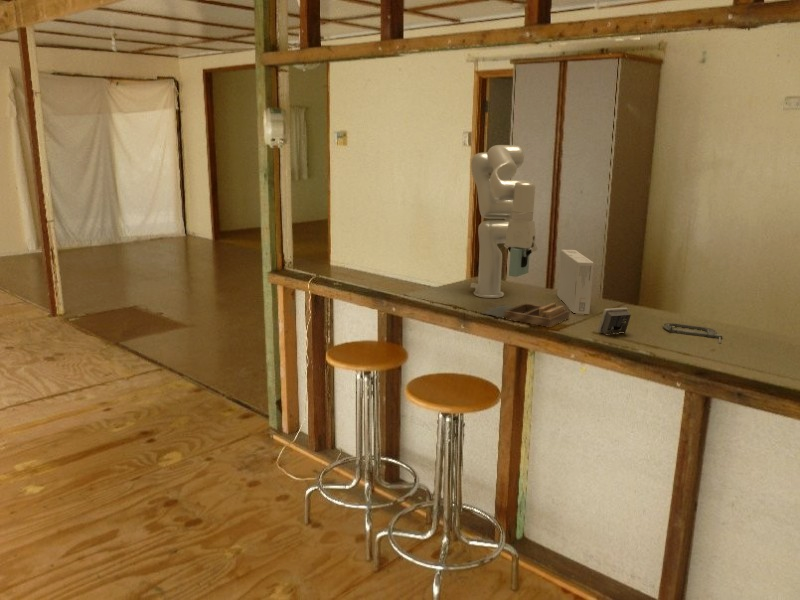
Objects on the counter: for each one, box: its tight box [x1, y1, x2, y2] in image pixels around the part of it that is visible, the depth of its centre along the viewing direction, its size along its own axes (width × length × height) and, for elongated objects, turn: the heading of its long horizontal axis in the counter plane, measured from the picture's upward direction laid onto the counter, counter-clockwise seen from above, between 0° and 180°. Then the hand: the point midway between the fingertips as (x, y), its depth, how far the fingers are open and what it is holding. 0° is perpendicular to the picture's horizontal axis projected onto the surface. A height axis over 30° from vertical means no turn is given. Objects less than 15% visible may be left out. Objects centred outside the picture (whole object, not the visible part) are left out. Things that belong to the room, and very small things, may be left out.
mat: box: [480, 304, 515, 318], centre depth 256 cm, size 9×16×1 cm, turn 143°
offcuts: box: [539, 302, 565, 318], centre depth 244 cm, size 5×12×6 cm, turn 143°
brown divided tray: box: [503, 302, 571, 328], centre depth 247 cm, size 18×16×3 cm
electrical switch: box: [597, 307, 632, 336], centre depth 229 cm, size 9×5×9 cm, turn 108°
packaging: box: [556, 249, 595, 315], centre depth 268 cm, size 30×6×20 cm, turn 179°
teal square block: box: [508, 248, 531, 278], centre depth 248 cm, size 3×10×10 cm, turn 144°
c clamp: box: [662, 322, 723, 345], centre depth 233 cm, size 20×17×3 cm
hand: (519, 265), depth 248 cm, fingers closed on teal square block, 3 cm apart
